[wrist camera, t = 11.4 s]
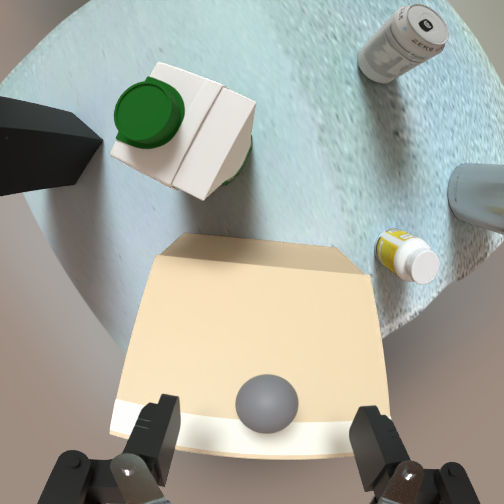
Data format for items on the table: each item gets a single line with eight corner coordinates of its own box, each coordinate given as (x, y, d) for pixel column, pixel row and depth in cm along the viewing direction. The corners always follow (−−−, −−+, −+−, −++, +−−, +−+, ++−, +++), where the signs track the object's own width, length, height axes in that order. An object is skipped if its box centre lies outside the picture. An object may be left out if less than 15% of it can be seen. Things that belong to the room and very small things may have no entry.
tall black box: (104, 140, 35) (-71, 124, 8) (75, 185, 36) (-92, 220, 9) (72, 112, 34) (-86, 83, 7) (46, 155, 35) (-109, 167, 8)
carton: (336, 247, 38) (368, 278, 27) (316, 350, 43) (332, 404, 31) (184, 232, 38) (155, 258, 27) (182, 339, 42) (161, 390, 31)
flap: (367, 279, 27) (399, 223, 21) (387, 451, 16) (448, 435, 11) (157, 259, 26) (142, 196, 21) (112, 434, 16) (63, 415, 10)
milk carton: (199, 103, 34) (146, 41, 15) (263, 134, 35) (273, 90, 16) (167, 164, 36) (85, 160, 17) (230, 195, 37) (203, 220, 18)
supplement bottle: (386, 272, 39) (418, 299, 30) (366, 244, 38) (397, 266, 29) (413, 248, 38) (450, 269, 29) (394, 219, 37) (431, 234, 28)
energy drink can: (402, 73, 32) (462, 38, 17) (375, 92, 33) (433, 59, 19) (374, 40, 31) (423, -7, 16) (346, 58, 32) (390, 9, 17)
